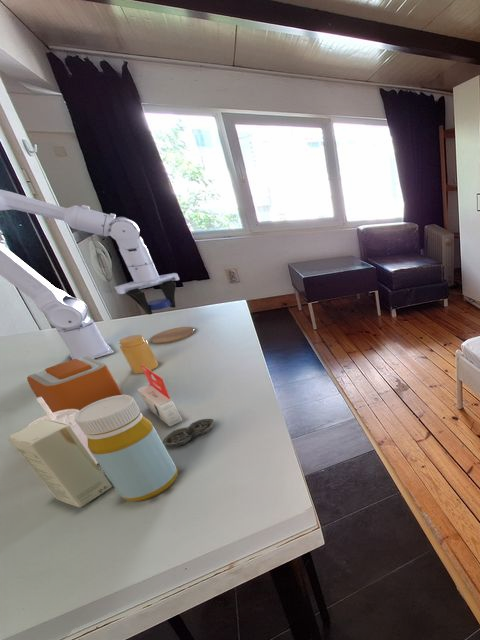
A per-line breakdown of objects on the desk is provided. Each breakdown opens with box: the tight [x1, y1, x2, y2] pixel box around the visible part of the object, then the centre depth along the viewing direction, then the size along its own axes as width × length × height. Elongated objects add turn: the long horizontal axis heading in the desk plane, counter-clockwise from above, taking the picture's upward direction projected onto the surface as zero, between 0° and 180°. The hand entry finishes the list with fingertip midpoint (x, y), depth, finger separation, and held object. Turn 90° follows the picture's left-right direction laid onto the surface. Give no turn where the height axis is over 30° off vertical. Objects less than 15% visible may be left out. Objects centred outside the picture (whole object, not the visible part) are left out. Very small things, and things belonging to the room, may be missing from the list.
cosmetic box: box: [6, 419, 113, 508], centre depth 53 cm, size 6×4×12 cm
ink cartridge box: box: [137, 365, 183, 427], centre depth 71 cm, size 2×11×10 cm, turn 56°
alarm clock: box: [26, 357, 124, 413], centre depth 69 cm, size 15×8×14 cm, turn 62°
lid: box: [147, 297, 172, 311], centre depth 106 cm, size 6×6×2 cm
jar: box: [118, 334, 159, 374], centre depth 90 cm, size 5×5×8 cm
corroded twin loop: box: [162, 418, 214, 447], centre depth 67 cm, size 5×8×1 cm, turn 140°
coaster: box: [149, 326, 196, 344], centre depth 111 cm, size 11×11×1 cm
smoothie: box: [24, 397, 99, 465], centre depth 58 cm, size 6×6×14 cm
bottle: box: [75, 394, 179, 502], centre depth 53 cm, size 7×7×15 cm
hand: (161, 310), depth 107 cm, fingers closed on lid, 5 cm apart
